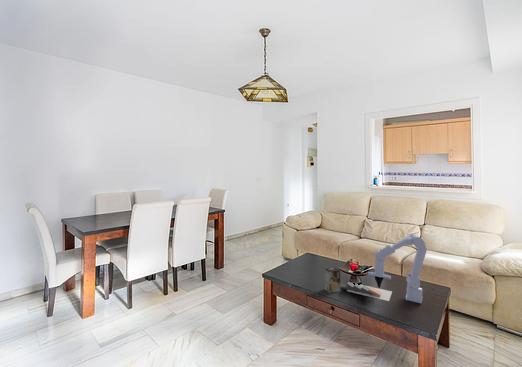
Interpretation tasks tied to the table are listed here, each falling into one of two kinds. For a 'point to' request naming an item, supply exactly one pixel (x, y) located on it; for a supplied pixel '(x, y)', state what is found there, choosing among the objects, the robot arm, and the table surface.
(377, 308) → the table surface
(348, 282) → the domino
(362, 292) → the domino
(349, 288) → the domino
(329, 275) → the coffee box
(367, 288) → the domino
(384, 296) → the grey mat
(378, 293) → the domino
